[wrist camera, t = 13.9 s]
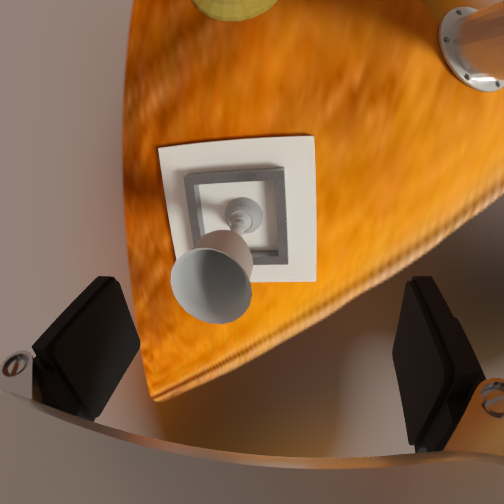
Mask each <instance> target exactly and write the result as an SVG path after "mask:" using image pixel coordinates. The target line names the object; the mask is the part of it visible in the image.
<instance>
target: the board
mask: <svg viewBox="0 0 504 504" xmlns="http://www.w3.org/2000/svg"><path fill="white" fill-rule="evenodd" d="M158 151H159V159H160V166H161V173H162V179H163V186H164V192H165V199H166V205H167V211H168V217H169V222H170V228H171V234H172V239H173V244H174V250H175V255H176V260H177V259H178V258H179V257H180V256H182V255H183V254H184V253H185V252H187V251H190V250H192V248H193V247H194V245H193V238H192V232H191V226H190V219H189V213H188V206H187V199H186V192H185V185H184V177H183V176H185V175H187V174H188V173H197V172H209V171H222V170H237V169H255V168H276V167H285V186H286V206H287V229H288V256H289V259H288V265H253V269H252V274H251V277H250V282H315V281H316V175H315V147H314V135H312V136H280V137H260V138H245V139H232V140H221V141H210V142H200V143H192V144H183V145H175V146H168V147H161V148H158ZM199 192H200V199H201V207H202V214H203V222H204V229H205V234H207V233H210V232H212V231H216V230H230V227H229V225H228V224H227V222H226V219H225V210H226V207H227V205H228V204H229V203H230V202H231V201H232V200H233V199H236V198H239V197H246V198H250V199H252V200H254V201H255V202H257V204H258V205H259V206H260V207H261V210H262V212H263V220H262V223H261V225H260V226H259V228H258V229H257V230H255V231H254V232H251V233H248V234H243V235H242V236H241V237H242V238H243V239H244V241H245V242H246V243H247V245H248V248H249V250H278V235H277V216H276V199H275V183H274V180H272V181H249V182H231V183H215V184H201V185H199Z"/></svg>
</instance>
